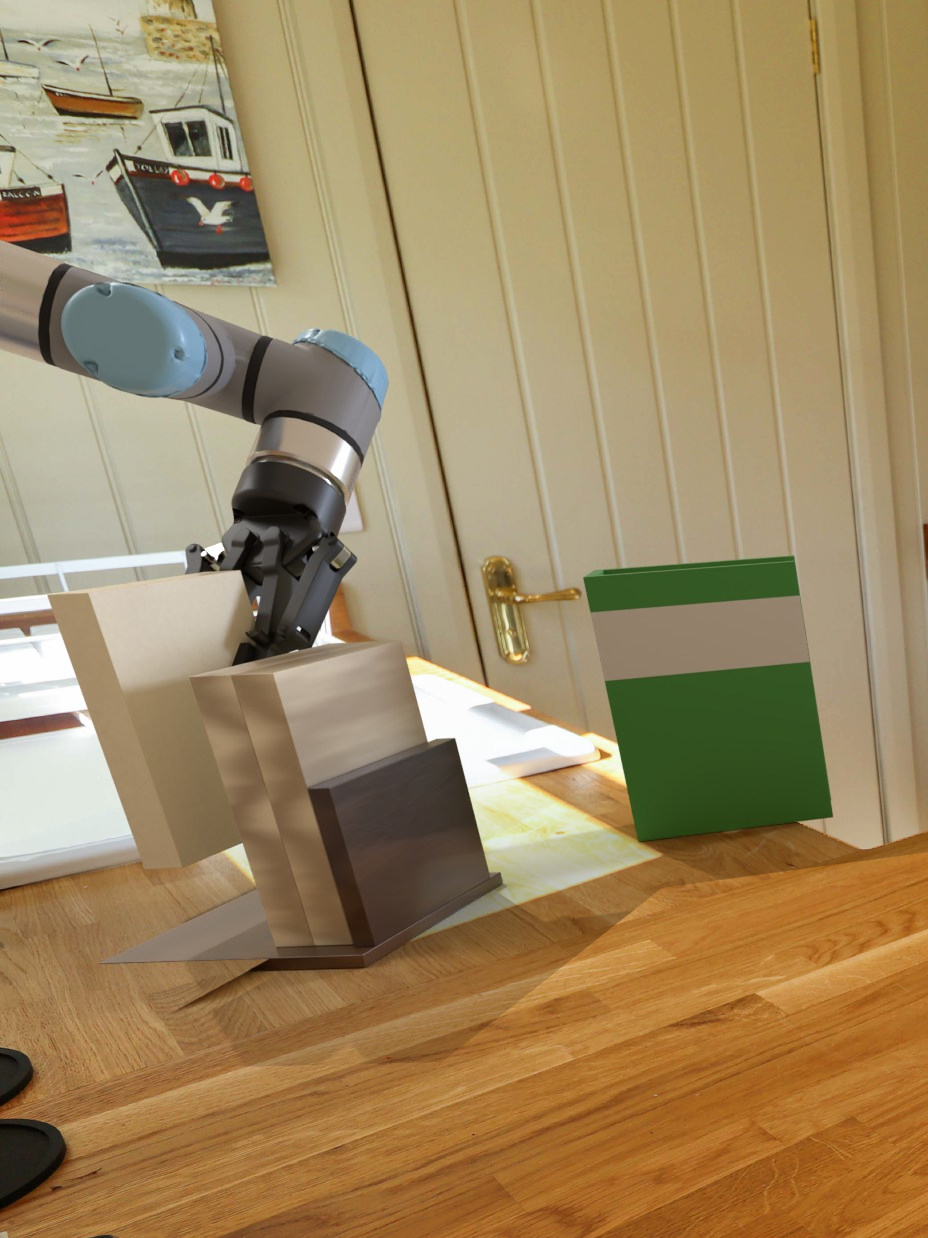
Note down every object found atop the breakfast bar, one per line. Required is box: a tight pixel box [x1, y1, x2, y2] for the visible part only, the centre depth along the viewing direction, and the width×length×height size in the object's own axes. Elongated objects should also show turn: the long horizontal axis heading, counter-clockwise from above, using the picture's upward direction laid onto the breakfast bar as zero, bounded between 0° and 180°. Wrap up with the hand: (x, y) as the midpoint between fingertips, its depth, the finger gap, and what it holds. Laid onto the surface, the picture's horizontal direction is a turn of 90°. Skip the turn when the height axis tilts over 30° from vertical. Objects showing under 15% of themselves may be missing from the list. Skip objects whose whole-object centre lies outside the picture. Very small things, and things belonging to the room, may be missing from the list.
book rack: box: [98, 639, 504, 972], centre depth 96 cm, size 20×18×21 cm
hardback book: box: [582, 554, 834, 843], centre depth 119 cm, size 18×7×24 cm, turn 107°
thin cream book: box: [46, 570, 256, 870], centre depth 97 cm, size 3×14×20 cm, turn 178°
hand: (209, 722), depth 98 cm, fingers closed on thin cream book, 3 cm apart
